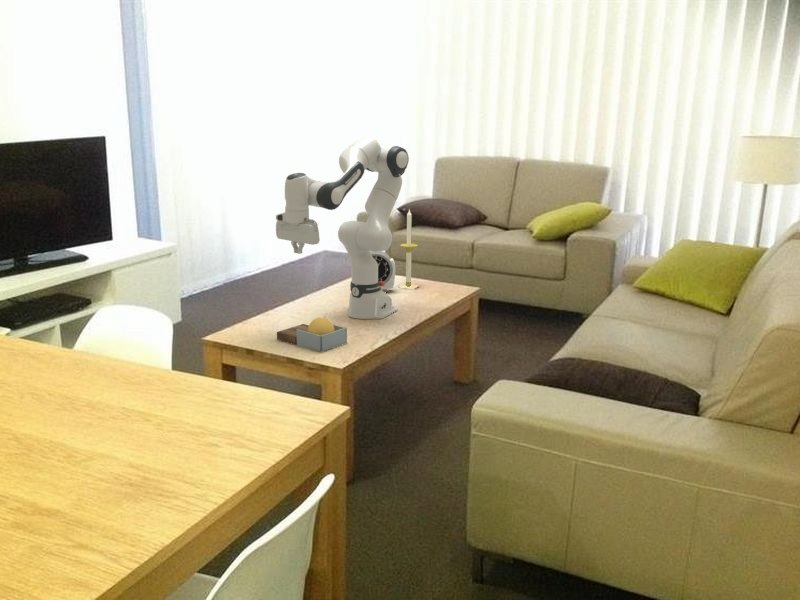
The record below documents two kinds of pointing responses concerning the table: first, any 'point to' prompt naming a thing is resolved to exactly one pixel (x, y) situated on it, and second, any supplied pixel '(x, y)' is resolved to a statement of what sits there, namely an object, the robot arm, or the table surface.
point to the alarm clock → (385, 269)
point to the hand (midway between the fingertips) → (298, 253)
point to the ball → (320, 326)
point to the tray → (322, 339)
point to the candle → (408, 249)
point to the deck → (291, 334)
